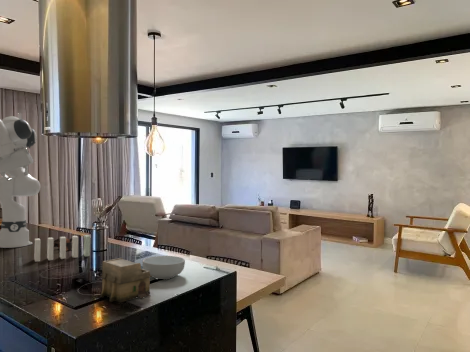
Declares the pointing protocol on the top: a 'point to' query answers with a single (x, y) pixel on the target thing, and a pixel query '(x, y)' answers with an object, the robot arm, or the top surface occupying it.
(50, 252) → the domino
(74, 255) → the domino
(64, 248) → the domino
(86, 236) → the domino
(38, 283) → the top surface
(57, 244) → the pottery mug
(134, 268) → the miniature house
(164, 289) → the top surface
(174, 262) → the cereal bowl
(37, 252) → the domino
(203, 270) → the top surface
